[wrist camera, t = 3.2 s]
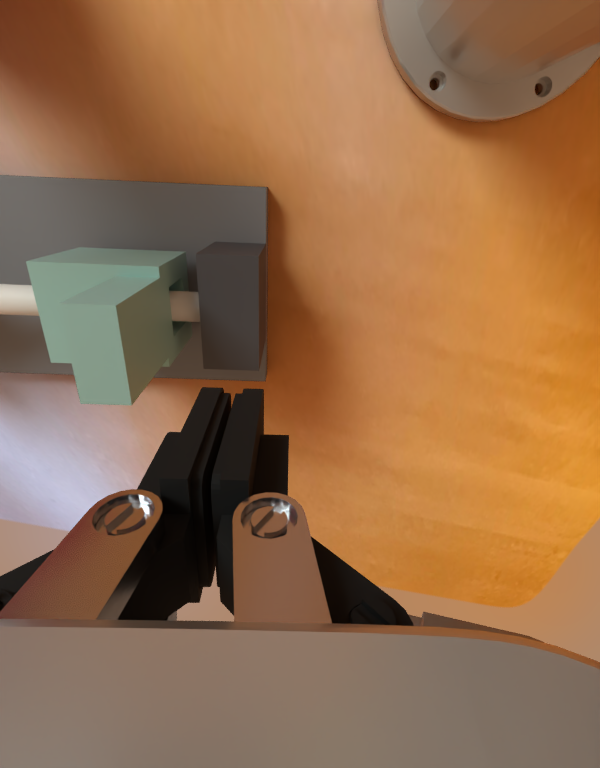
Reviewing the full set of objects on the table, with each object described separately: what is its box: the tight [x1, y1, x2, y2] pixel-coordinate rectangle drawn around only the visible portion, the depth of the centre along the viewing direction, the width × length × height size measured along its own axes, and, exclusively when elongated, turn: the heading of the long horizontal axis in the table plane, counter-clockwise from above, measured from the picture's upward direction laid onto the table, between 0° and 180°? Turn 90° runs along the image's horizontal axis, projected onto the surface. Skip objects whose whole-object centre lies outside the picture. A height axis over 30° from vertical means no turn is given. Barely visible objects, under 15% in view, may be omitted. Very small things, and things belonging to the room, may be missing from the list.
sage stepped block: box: [26, 247, 192, 405], centre depth 19 cm, size 6×5×10 cm
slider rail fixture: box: [0, 175, 268, 381], centre depth 22 cm, size 25×12×8 cm, turn 88°
